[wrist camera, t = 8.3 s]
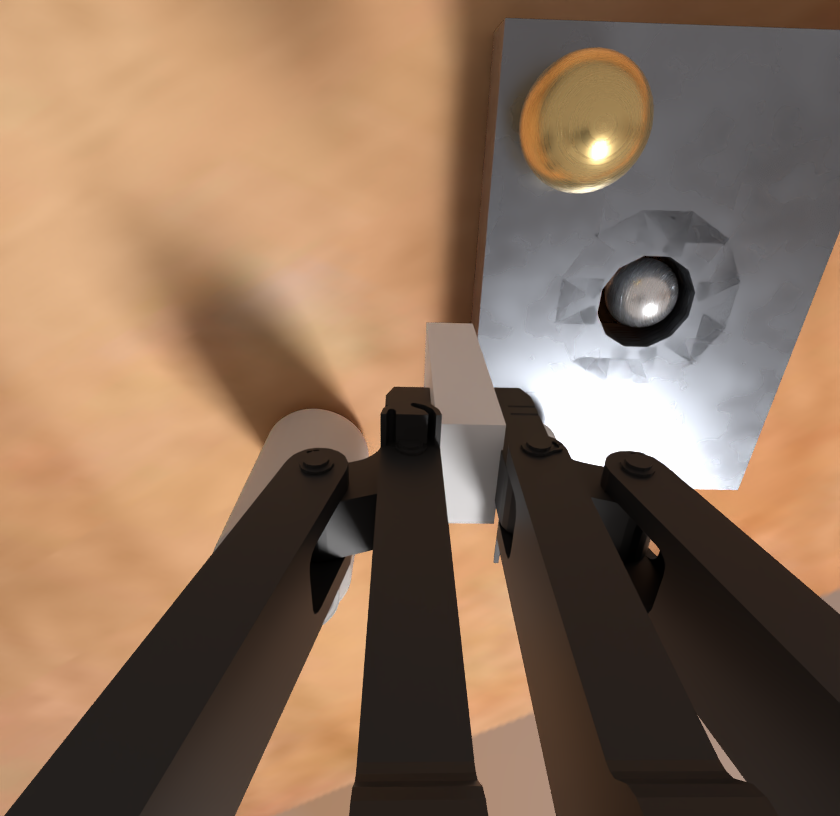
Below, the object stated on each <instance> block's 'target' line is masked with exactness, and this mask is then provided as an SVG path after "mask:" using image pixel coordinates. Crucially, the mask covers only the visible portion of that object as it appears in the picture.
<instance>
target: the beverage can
mask: <svg viewBox="0 0 840 816" xmlns="http://www.w3.org/2000/svg"><path fill="white" fill-rule="evenodd" d="M310 448H311V449H312V448H329V449H333V450H336V451H339V452H340V453H342V454H343V455H345V457H346V459H347V461H348V462H353V461H358V460H362V459H365V458H367V457H369V453H368V447H367V443H366V441H365V438H364V437H363V435H362V433H361V432H360V430H359V429H358V428H357V427H356V426H355V425H354V424H353V423H352V422H351V421H349V420H348V419H346V418H345V417H343V416H341V415H339V414H337V413H334V412H332V411H328V410H323V409H303V410H299V411H295V412H293V413H291V414H289V415H287V416H285V417H283V418H282V419H280V420H279V421H278V422H277V423H276V424H275V425H274V427H273V428H272V429H271V431H270V433H269V435H268V437H267V439H266V441H265V443H264V446H263V448H262V450H261V452H260V454H259V456H258V458H257V460H256V462H255V464H254V467H253V469H252V471H251V473H250V475H249V477H248V479H247V481H246V483H245V485H244V488H243V490H242V492H241V494H240V496H239V498H238V500H237V502H236V504H235V507H234V509H233V511H232V513H231V515H230V517H229V519H228V521H227V523H226V525H225V528H224V530H223V532H222V534H221V536H220V538H219V540H218V542H217V544H216V547H215V549H214V551H215V550H216V549H217V547H218V546H219V545H220V544H221V542H222V541H223V540H224V539H225V537H226V536H227V535H228V534H229V532H230V531H231V530H232V529H233V527H234V526H235V525H236V524H237V522H238V521H239V520H240V519H241V517H242V516H243V515H244V514H245V512H246V511H247V510H248V508H249V507H250V506H251V505H252V503H253V502H254V501H255V500H256V498H257V497H258V496H259V495H260V493H261V492H262V491H263V490H264V488H265V487H266V486H267V485H268V483H269V482H270V481H271V480H272V478H273V477H274V476H275V474H276V473H277V472H278V471H279V469H280V468H281V467H282V466H283V464H284V463H285V462H286V461H287V460H288V459H289V458H290V457H291V456H292V455H294V454H295V453H298V452H300V451H303V450H306V449H310ZM213 553H214V552H213ZM354 556H355V554H354V555H352V558H351V563H350V566H349V568H348V570H347V572H346V575H345V577H344V579H343V581H342V583H341V585H340V588H339V590H338V592H337V594H336V596H335V599H334V601H333V603H332V605H331V607H330V609H329V612H328V614H327V616H326V618H325V620H324V622H323V624H325V623H326V622H327V621H328V620H329V619H330V618H331V617H332V616H333V615H334V613H335V611H336V610H337V607H338V604H339V601H340V600H341V599H342V598H343V597H344V596H345V594H346V592H347V590H348V588H349V585H350V582H351V576H352V569H353V562H354Z"/></svg>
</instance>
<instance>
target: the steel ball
mask: <svg viewBox="0 0 840 816" xmlns="http://www.w3.org/2000/svg"><path fill="white" fill-rule="evenodd" d="M678 293H679V287H678V281H677V279H676V276H675V274H674V273H673V271H672V270H671V269H670V268H669V267H668V266H667V265H666V264H664V263H663V262H661V261H659V260H656V259H652V258H639V259H637V260H635V261H633V262H631V263H629V264H627V265H625V266H623V267H621V268H619V269H618V270H617V272H616V273H615V274H614V275H613V277H612V278H611V279H610V280H609V282H608V283H607V284H606V288H605V303H606V306H607V309H608V311H609V312H610V314H611V315H612V316H613V317H614V318H615V319H616V320H617V321H619V322H620V323H622V324H624V325H627V326H630V327H637V328H638V327H647V326H651V325H654V324H656V323H658V322H660V321H661V320H663V319H664V318H665V317H666V316H667V315H668V314H669V313H670V312H671V311H672V309H673V308H674V306H675V304H676V301H677V298H678Z"/></svg>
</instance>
